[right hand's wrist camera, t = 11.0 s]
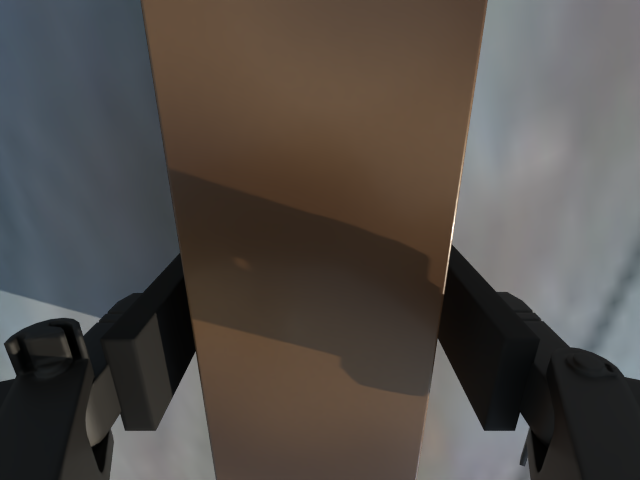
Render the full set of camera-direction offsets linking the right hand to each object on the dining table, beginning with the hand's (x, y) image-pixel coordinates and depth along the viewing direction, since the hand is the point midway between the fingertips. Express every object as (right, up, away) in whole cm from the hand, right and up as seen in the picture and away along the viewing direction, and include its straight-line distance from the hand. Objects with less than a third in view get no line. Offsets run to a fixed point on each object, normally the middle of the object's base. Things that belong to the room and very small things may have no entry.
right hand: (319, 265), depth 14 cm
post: (0, +29, -9) cm, 30 cm away
